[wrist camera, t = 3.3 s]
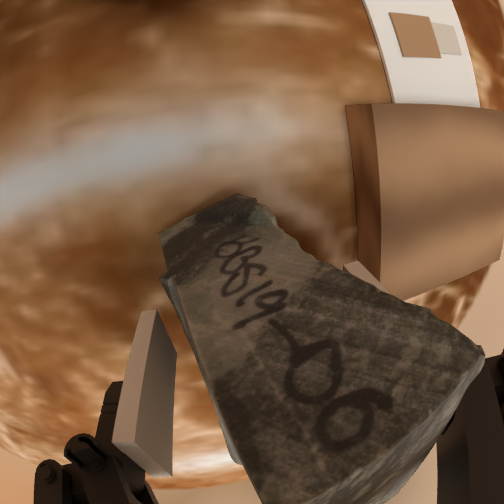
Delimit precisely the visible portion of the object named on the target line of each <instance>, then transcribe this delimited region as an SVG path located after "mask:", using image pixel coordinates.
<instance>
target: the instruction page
mask: <svg viewBox="0 0 504 504" xmlns="http://www.w3.org/2000/svg"><path fill="white" fill-rule="evenodd" d="M362 2H363V5H364V7H365V10H366V12H367V15H368V18H369V21H370V24H371V27H372V29H373V32H374V35H375V39H376V42H377V45H378V48H379V52H380V55H381V58H382V62H383V66H384V69H385V73H386V77H387V81H388V85H389V89H390V94H391V98H392V103H411V104H440V105H455V106H467V107H476V108H480V103H479V97H478V91H477V86H476V81H475V76H474V71H473V67H472V63H471V59H470V55H469V51H468V47H467V44H466V40H465V37H464V34H463V31H462V28H461V25H460V22H459V19H458V16H457V13H456V10H455V8H454V5H453V2H452V0H362Z"/></svg>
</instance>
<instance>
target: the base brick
mask: <svg viewBox="0 0 504 504" xmlns="http://www.w3.org/2000/svg"><path fill="white" fill-rule="evenodd" d="M345 109H346V115H347V122H348V129H349V137H350V145H351V153H352V162H353V173H354V184H355V197H356V212H357V232H358V261H359V262H360V263H361V264H362V265H363V266H364V267H365V268H366V269H367V270H368V271H369V272H370V273H371V274H372V275H373V276H374V277H375V278H376V279H377V280H378V281H379V282H380V283H381V284H382V285H383V286H384V288H385V289H386V290H387V291H388V292H389V293H390V294H391V295H393V296H395V297H397V298H399V299H400V300H402V301H403V300H406V299H409V298H411V297H414V296H417V295H419V294H422V293H424V292H427V291H429V290H432V289H434V288H437V287H439V286H442V285H444V284H447V283H449V282H451V281H454V280H456V279H458V278H461V277H463V276H465V275H468V274H470V273H472V272H474V271H476V270H479V269H481V268H483V267H485V266H487V265H489V264H491V263H494V262H496V261H498V260H499V259H500V255H501V249H502V244H503V239H504V111H500V110H493V109H485V108H476V107H467V106H455V105H440V104H411V103H388V104H361V105H348V106H345Z"/></svg>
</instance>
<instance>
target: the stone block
mask: <svg viewBox="0 0 504 504" xmlns="http://www.w3.org/2000/svg"><path fill="white" fill-rule="evenodd" d="M159 237H160V241H161V245H162V249H163V253H164V257H165V261H166V265H167V270H166V271H165V272H164V273H163V274H162V275H161V277H160V278H159V279H160V281H161V283H162V285H163V287H164V289H165V291H166V293H167V295H168V297H169V298H170V300H171V302H172V304H173V306H174V308H175V310H176V312H177V315H178V318H179V319H180V321H181V322H182V324H183V329H184V332H185V334H186V336H187V338H188V340H189V342H190V345H191V347H192V350H193V352H194V355H195V357H196V360H197V363H198V365H199V368H200V371H201V373H202V376H203V378H204V381H205V384H206V386H207V389H208V392H209V394H210V397H211V399H212V402H213V404H214V407H215V410H216V414H217V417H218V421H219V425H220V427H221V429H222V432H223V435H224V438H225V441H226V444H227V448H228V451H229V453H230V456H231V458H232V459H233V461H234V462H235V463H237V464H240V465H243V466H244V468H245V470H246V472H247V474H248V476H249V478H250V480H251V482H252V484H253V486H254V488H255V490H256V492H257V494H258V496H259V498H260V500H261V502H262V504H384V503H385V502H387V501H388V500H389V499H391V498H392V497H394V496H395V495H396V494H398V492H399V491H400V489H401V488H402V487H403V486H404V485H405V484H406V483H407V482H408V480H409V479H410V477H411V476H412V475H413V474H414V472H415V471H416V470H417V468H418V467H419V466H420V464H421V463H422V462H423V461H424V459H425V458H426V456H427V455H428V453H429V452H430V450H431V449H432V448H433V446H434V444H435V443H436V442H437V441H438V439H439V437H440V436H441V434H442V433H443V431H444V429H445V428H446V426H447V424H448V422H449V420H450V419H451V417H452V416H453V413H454V411H455V410H456V408H457V407H458V405H459V403H460V401H461V399H462V397H463V395H464V393H465V391H466V389H467V387H468V386H469V384H470V383H471V382H472V381H473V380H474V378H475V377H476V376H477V375H478V374H479V373H480V371H481V369H482V367H483V365H484V361H485V354H484V351H483V349H482V347H481V345H476V344H474V342H473V341H471V340H470V339H469V338H468V337H466V336H465V335H463V334H462V333H461V332H460V331H459V330H457V329H456V328H455V327H453V326H452V325H451V324H449V323H447V322H444V321H442V320H440V319H438V318H437V317H436V316H435V314H434V313H433V312H432V311H431V310H430V308H426V307H422V306H418V305H414V304H410V303H406V302H404V301H402V300H400V299H399V298H397V297H395V296H393V295H391V294H388V293H386V292H383V291H381V290H379V289H378V288H377V287H376V286H374V285H372V284H370V283H368V282H366V281H364V280H362V279H360V278H358V277H356V276H354V275H352V274H350V273H347V272H345V271H342V270H339V269H337V268H336V267H334V266H333V265H331V264H328V263H325V262H323V261H320V260H317V259H316V258H315V257H314V256H313V255H311V254H308V253H306V252H304V251H303V250H302V248H301V246H300V244H299V243H298V241H297V240H296V239H294V238H293V237H291V236H290V235H288V234H286V233H285V232H284V230H283V229H281V228H279V226H278V225H277V220H276V216H275V215H274V214H272V213H271V212H270V210H269V209H268V208H267V207H266V206H264V205H261V204H259V203H257V200H256V198H250V197H246V196H243V195H240V194H235V195H233V196H231V197H228V198H227V199H225V200H223V201H221V202H219V203H217V204H215V205H213V206H211V207H208V208H206V209H203V210H201V211H199V212H197V213H195V214H194V215H192V216H189V217H187V218H184V219H182V220H181V221H180V222H179V223H177V224H175V225H173V226H171V227H169V228H167V229H165V230H163V231H161V232H160V233H159Z"/></svg>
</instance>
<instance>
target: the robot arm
mask: <svg viewBox="0 0 504 504" xmlns="http://www.w3.org/2000/svg"><path fill="white" fill-rule="evenodd" d="M343 271H345V272H347V273H350V274H352V275H354V276H356V277H358V278H360V279H362V280H364V281H366V282H368V283H370V284H372V285H374V286H376V287H377V288H378V289H379V290H381V291H383V292H386V293H388V294H390V293H389V292H388V291H387V290H386V289H385V288H384V286H383V285H382V284H381V283H380V282H379V281H378V280H377V279H376V278H375V277H374V276H373V275H372V274H371V273H370V272H369V271H368V270H367V269H366V268H365V267H364V266H363V265H362V264H361V263H360V262H359V261H355V262H351V263H348V264H344V265H343ZM176 357H177V353H176V350H175V348H174V346H173V344H172V342H171V340H170V338H169V336H168V333H167V331H166V329H165V327H164V325H163V322H162V320H161V318H160V316H159V313H158V311H157V309H153V310H148V311H143V312H141V314H140V317H139V321H138V324H137V328H136V332H135V336H134V339H133V343H132V347H131V351H130V355H129V359H128V363H127V368H126V372H125V376H124V381H118V382H112V384H111V385H110V387H109V388H108V390H107V391H106V393H105V397H104V401H103V405H102V409H101V414H100V418H99V422H98V427H97V431H96V436H95V438H94V437H92V436H91V435H90V434H85V433H83V434H77V435H76V436H74V437H72V438H71V439H70V440H69V441H68V442H67V444H66V446H65V449H64V457H66V458H67V459H68V460H69V461H71V462H72V463H71V464H67V465H60V464H59V463H58V462H56V461H55V460H51V459H48V460H44V461H43V462H41V463H40V464H39V466H38V467H37V469H36V473H35V483H34V504H159V503H158V502H157V499H156V497H155V495H154V493H153V491H152V489H151V487H150V485H149V484H148V483H147V481H145V472H146V473H148V474H149V475H150V476H151V477H172V444H173V410H174V389H175V372H176ZM436 443H437V468H438V469H437V470H438V487H437V504H504V349H503V352H502V354H501V355H497V356H493V357H490V358H485V361H484V365H483V367H482V369H481V371H480V373H479V374H478V375H477V376H476V377H475V378H474V380H473V381H472V382H471V383H470V384H469V386H468V387H467V389H466V391H465V393H464V395H463V397H462V399H461V401H460V403H459V405H458V407H457V408H456V410H455V411H454V413H453V416H452V417H451V419H450V420H449V422H448V424H447V426H446V428H445V429H444V431H443V433H442V434H441V436H440V437H439V439H438V441H437V442H436Z"/></svg>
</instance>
